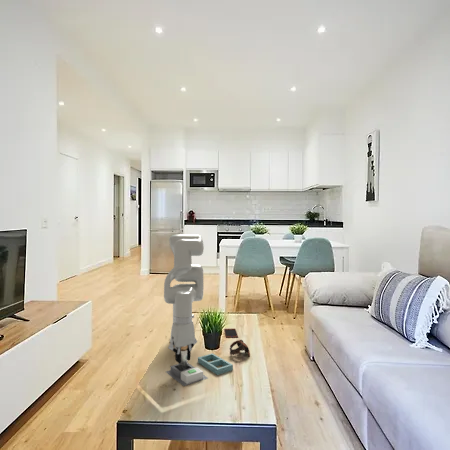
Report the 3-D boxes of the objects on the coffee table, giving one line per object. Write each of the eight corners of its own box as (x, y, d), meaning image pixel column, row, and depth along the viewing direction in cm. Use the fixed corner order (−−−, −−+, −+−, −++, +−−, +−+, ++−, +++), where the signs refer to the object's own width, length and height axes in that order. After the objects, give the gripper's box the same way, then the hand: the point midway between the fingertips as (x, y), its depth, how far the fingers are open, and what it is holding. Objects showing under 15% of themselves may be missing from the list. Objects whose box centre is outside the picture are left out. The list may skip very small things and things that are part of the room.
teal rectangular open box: (197, 364, 164) (197, 357, 164) (212, 360, 169) (212, 353, 169) (217, 377, 151) (217, 369, 151) (232, 372, 156) (232, 364, 156)
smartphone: (225, 337, 200) (223, 328, 215) (225, 338, 200) (223, 330, 215) (238, 336, 200) (235, 328, 215) (238, 338, 200) (235, 329, 215)
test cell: (176, 367, 154) (176, 341, 154) (184, 365, 157) (184, 339, 156) (181, 371, 151) (181, 344, 150) (189, 368, 153) (189, 342, 153)
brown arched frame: (251, 360, 171) (244, 347, 169) (234, 367, 173) (226, 354, 171) (251, 345, 182) (244, 332, 181) (235, 351, 184) (227, 339, 182)
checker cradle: (165, 374, 154) (165, 364, 154) (188, 367, 161) (188, 357, 161) (183, 389, 141) (183, 377, 141) (208, 380, 148) (208, 370, 148)
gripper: (194, 314, 161) (194, 353, 162) (161, 320, 151) (161, 362, 152) (204, 318, 155) (203, 358, 156) (170, 325, 145) (169, 368, 146)
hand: (182, 360), depth 154 cm, fingers closed on test cell, 4 cm apart
